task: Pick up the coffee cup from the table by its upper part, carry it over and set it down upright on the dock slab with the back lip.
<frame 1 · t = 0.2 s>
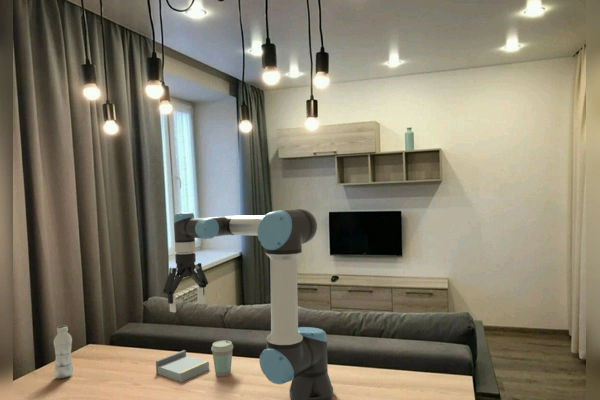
hand: (187, 307, 172), 27 cm above the table, fingers open, 13 cm apart
plastic bottle: (64, 377, 176), on the table
dock: (183, 371, 178), on the table
coffee cup: (223, 374, 175), on the table
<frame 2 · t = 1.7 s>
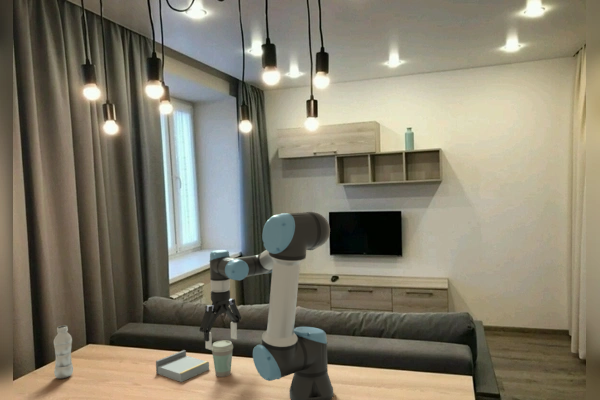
hand: (221, 343, 175), 12 cm above the table, fingers open, 13 cm apart
nothing on the table moved.
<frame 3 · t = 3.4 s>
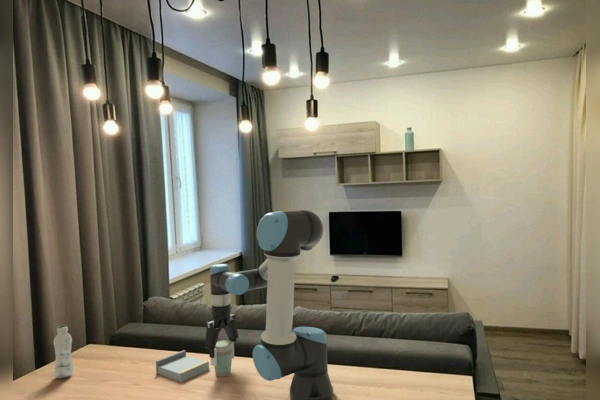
hand: (222, 361, 175), 5 cm above the table, fingers closed on coffee cup, 8 cm apart
coffee cup: (223, 374, 175), on the table, touching gripper
everything else where it was.
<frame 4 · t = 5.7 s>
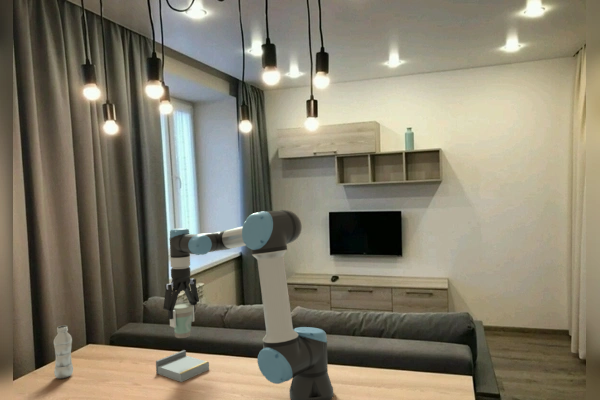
hand: (182, 323, 178), 19 cm above the table, fingers closed on coffee cup, 8 cm apart
coffee cup: (182, 336, 178), point 14 cm above the table, touching gripper
everything else where it was.
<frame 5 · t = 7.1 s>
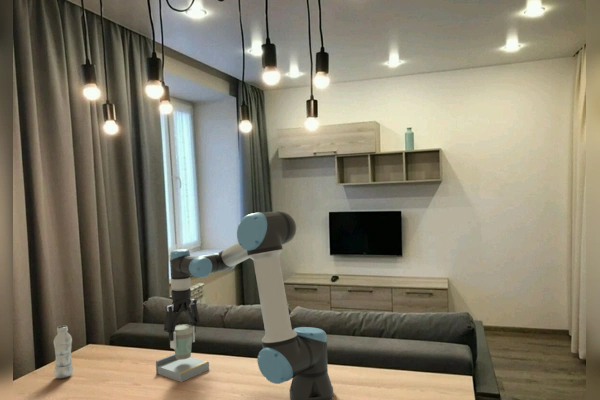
hand: (182, 344, 178), 11 cm above the table, fingers closed on coffee cup, 8 cm apart
coffee cup: (183, 357, 178), point 6 cm above the table, touching gripper
everything else where it was.
when the fingers open (9 cm above the table, at t = 8.3 s): coffee cup drops 1 cm, resting on dock.
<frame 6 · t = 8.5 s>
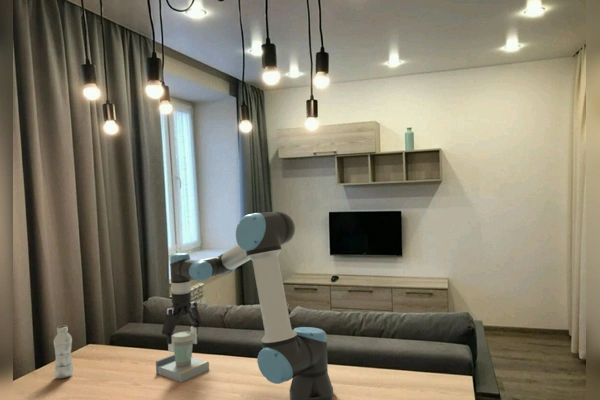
hand: (183, 347, 178), 10 cm above the table, fingers open, 11 cm apart
coffee cup: (183, 364, 178), point 3 cm above the table, touching dock
everything else where it was.
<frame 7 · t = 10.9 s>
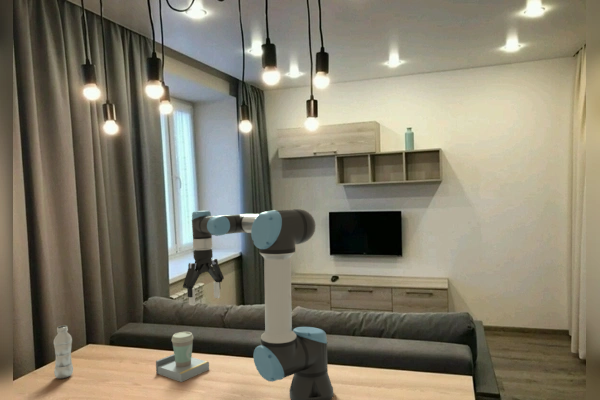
hand: (205, 301, 180), 27 cm above the table, fingers open, 13 cm apart
nothing on the table moved.
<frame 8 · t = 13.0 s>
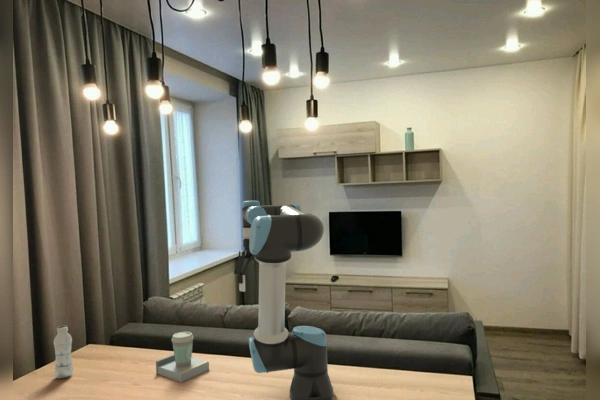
hand: (253, 288, 187), 31 cm above the table, fingers open, 13 cm apart
nothing on the table moved.
at the end: coffee cup inside the target area on the dock (0.1 cm from its centre), point 2.8 cm above the dock's base; coffee cup tilted 0°; the gripper is holding nothing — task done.
